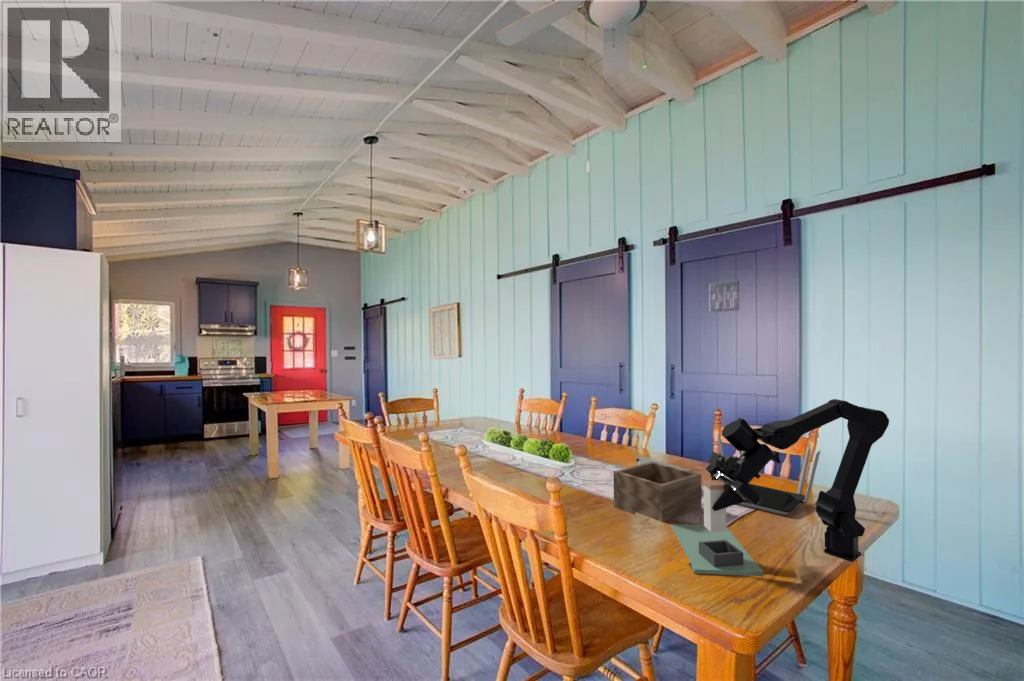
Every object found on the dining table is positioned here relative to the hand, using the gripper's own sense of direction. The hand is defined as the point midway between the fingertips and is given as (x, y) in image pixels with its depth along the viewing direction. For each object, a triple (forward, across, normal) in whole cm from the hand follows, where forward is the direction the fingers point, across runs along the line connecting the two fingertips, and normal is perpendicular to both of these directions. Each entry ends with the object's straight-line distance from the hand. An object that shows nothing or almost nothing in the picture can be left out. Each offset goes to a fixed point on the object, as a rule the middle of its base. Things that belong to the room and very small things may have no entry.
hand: (709, 506), depth 124 cm
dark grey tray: (+8, +3, +10) cm, 14 cm away
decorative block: (+3, -65, +17) cm, 67 cm away
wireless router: (-17, -40, +36) cm, 57 cm away
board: (+8, -5, +11) cm, 15 cm away
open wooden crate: (+11, -36, +8) cm, 38 cm away
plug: (+3, 0, +5) cm, 6 cm away
